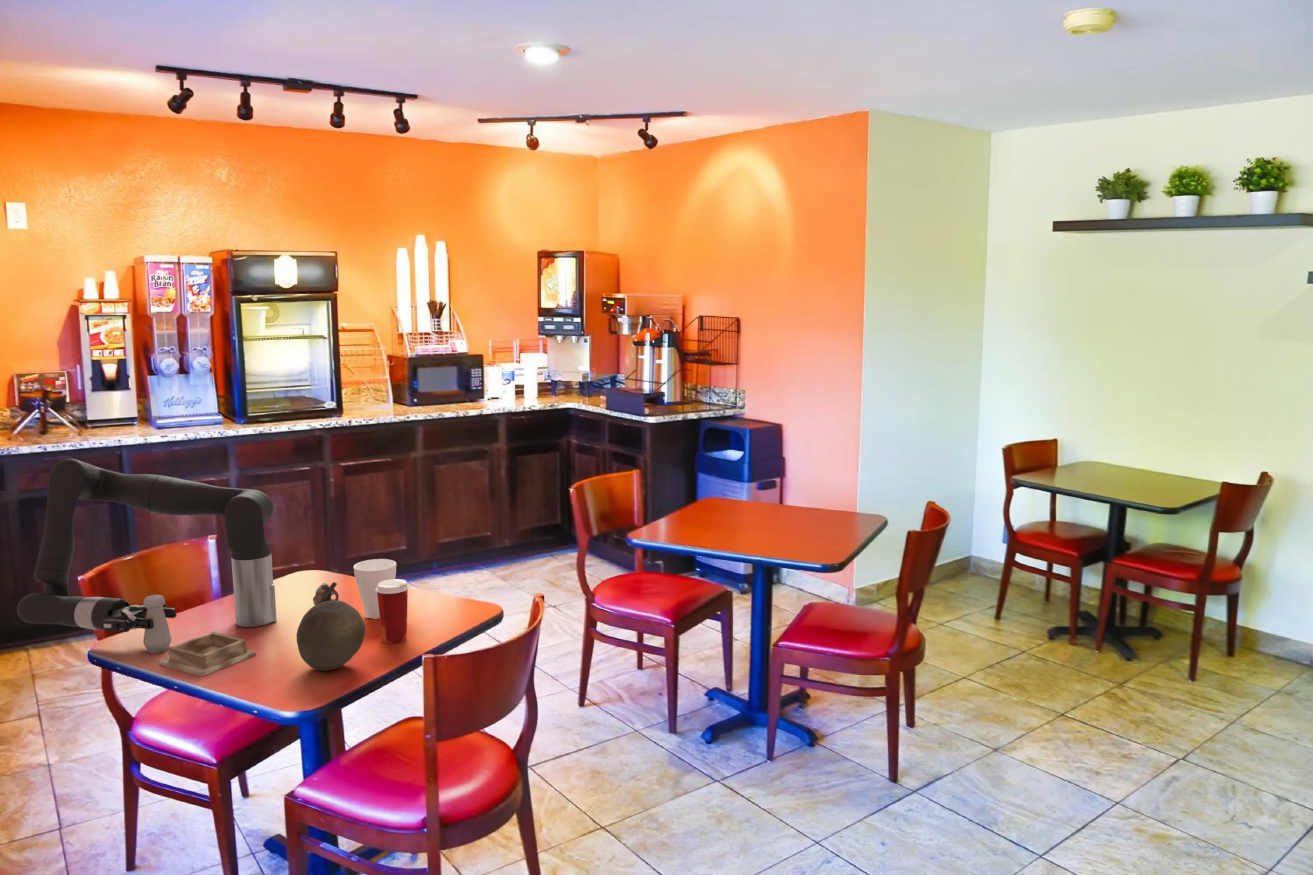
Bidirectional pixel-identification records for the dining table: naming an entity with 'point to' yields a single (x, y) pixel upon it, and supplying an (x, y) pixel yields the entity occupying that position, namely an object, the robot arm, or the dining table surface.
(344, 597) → the dining table surface
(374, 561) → the cup
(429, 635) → the dining table surface
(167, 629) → the salt shaker
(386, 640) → the paper cup
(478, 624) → the dining table surface
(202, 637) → the tray
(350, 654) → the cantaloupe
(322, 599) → the figurine
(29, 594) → the robot arm
